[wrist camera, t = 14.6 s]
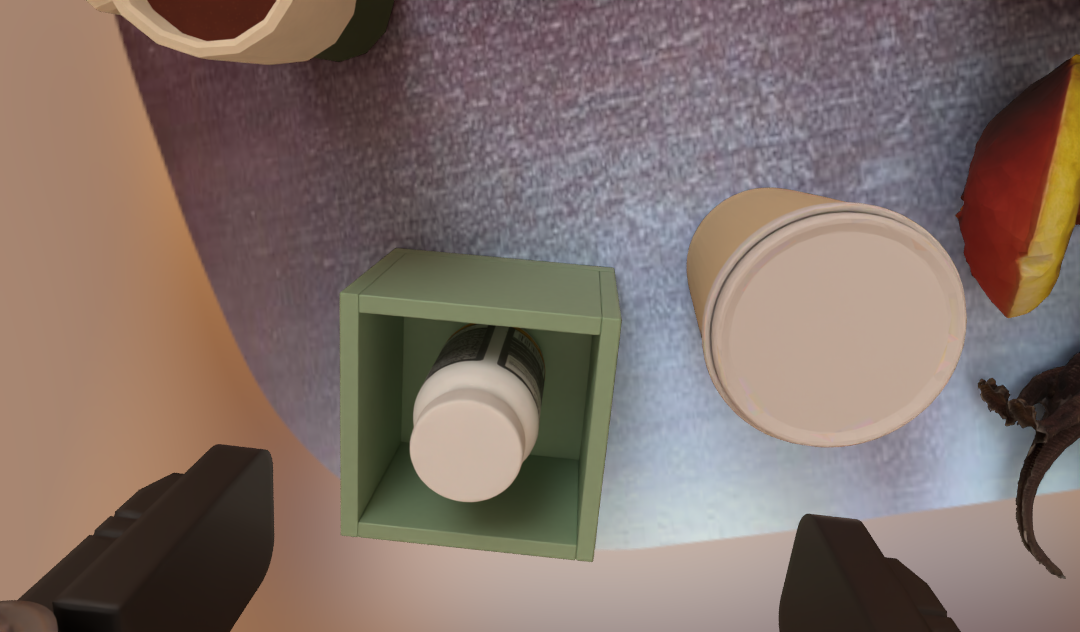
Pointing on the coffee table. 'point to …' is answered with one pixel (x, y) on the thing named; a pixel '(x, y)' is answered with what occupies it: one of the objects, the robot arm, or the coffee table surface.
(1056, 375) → the dinosaur model
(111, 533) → the robot arm
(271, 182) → the coffee table surface
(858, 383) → the coffee cup
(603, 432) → the green open-top storage bin
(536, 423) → the pill bottle
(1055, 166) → the mushroom
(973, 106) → the coffee table surface
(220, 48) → the character mug
